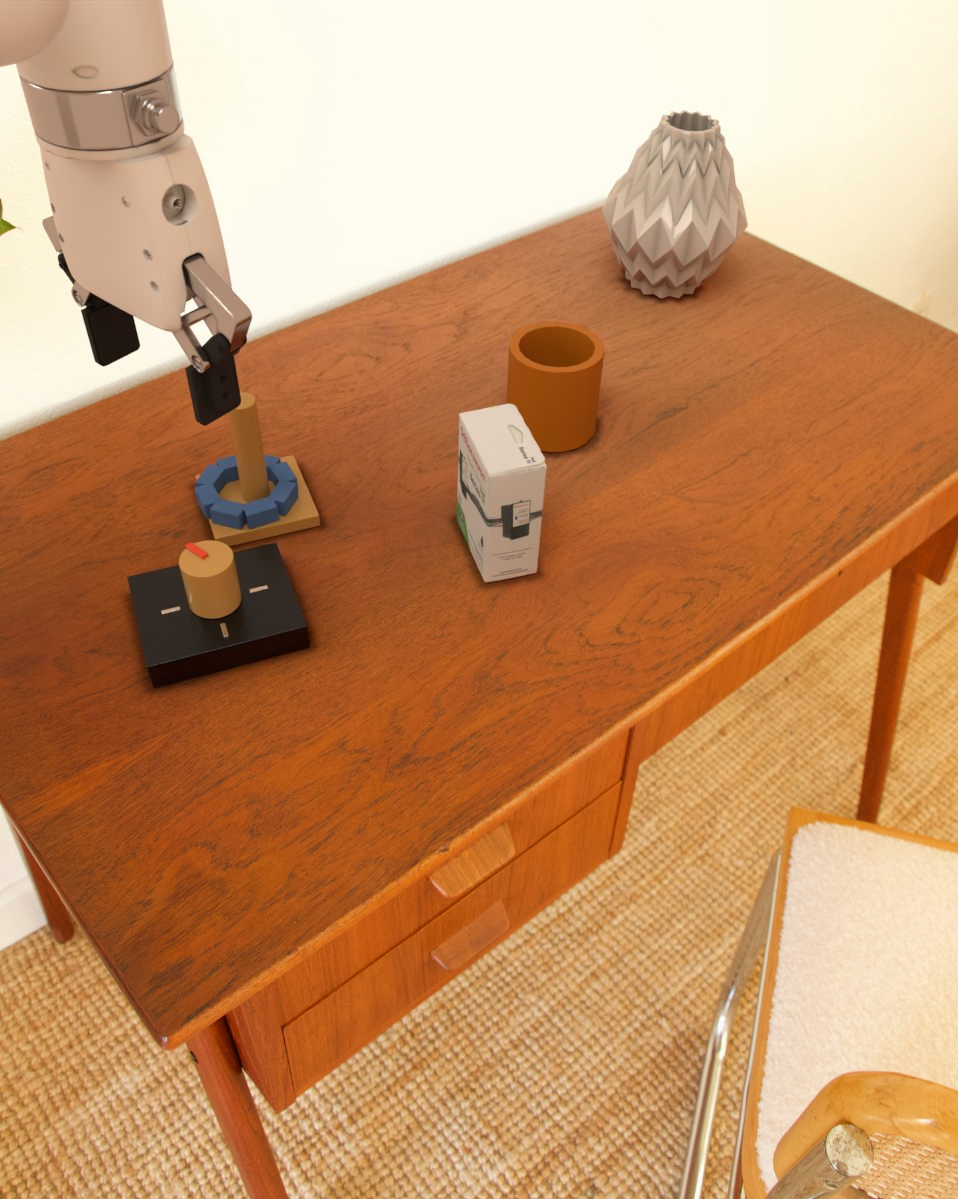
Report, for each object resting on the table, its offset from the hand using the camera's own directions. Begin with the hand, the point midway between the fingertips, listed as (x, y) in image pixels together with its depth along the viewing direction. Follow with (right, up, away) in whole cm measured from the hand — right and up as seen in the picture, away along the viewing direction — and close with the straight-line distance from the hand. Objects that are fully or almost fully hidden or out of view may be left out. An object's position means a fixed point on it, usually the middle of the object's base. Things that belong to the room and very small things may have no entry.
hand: (167, 384), depth 65 cm
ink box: (+21, -9, +23) cm, 33 cm away
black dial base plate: (-1, -16, +16) cm, 22 cm away
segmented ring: (0, -5, +25) cm, 25 cm away
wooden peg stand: (0, -5, +26) cm, 27 cm away
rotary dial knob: (-1, -14, +14) cm, 20 cm away
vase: (+42, +24, +56) cm, 74 cm away
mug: (+28, +4, +37) cm, 46 cm away
